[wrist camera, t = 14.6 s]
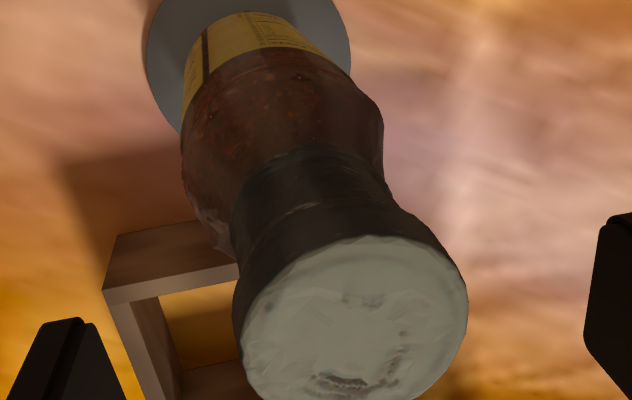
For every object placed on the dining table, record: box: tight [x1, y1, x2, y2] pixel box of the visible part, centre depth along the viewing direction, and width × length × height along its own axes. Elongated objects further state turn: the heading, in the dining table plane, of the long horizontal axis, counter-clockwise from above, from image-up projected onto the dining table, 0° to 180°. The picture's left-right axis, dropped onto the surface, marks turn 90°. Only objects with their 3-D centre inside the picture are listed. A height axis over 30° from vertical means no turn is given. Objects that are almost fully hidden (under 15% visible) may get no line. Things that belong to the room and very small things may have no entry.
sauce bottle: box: [180, 10, 469, 400], centre depth 17 cm, size 7×6×20 cm
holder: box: [102, 220, 264, 400], centre depth 31 cm, size 12×12×5 cm
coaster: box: [146, 0, 351, 134], centre depth 26 cm, size 10×10×1 cm
